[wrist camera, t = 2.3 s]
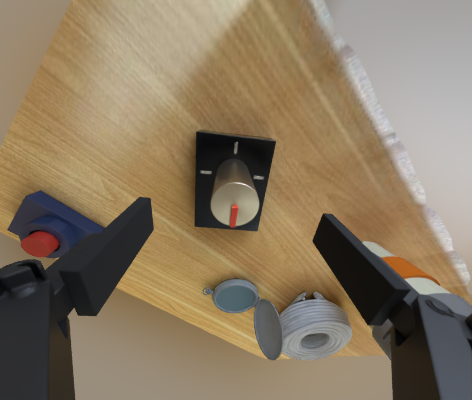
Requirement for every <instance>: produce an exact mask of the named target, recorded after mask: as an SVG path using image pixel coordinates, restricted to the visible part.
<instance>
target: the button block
mask: <svg viewBox="0 0 472 400" xmlns="http://www.w3.org/2000/svg"><path fill="white" fill-rule="evenodd" d="M104 229H105V228H103V227H102V226H100V225H98V224H97V223H95V222H93V221H92V220H90V219H88V218H87V217H85V216H83V215H81V214H80V213H78V212H76V211H75V210H73V209H71V208H70V207H68V206H66V205H64V204H63V203H61V202H59V201H58V200H56V199H54V198H53V197H51V196H49V195H48V194H46V193H44V192H42V191H41V190H40V191H38V192H35V193H33V194H30V195H28V196H26V197H25V199H24V200H23V202H22V204H21V206H20V208H19V209H18V211H17V213H16V215H15V217H14V219H13V220H12V222H11V224H10V226H9V228H8V231H10V232H12V233H14V234H16V235H18V236H19V238H20V241H22V240H23V239H24V238H26V237H28V236H29V235H31V234H33V233H34V232H36V231H46V232H48V233H50V234H52V235H54V236H55V237H56V238H57V239H58V241H59V243H60V245H59V247H58V248H57V249H55V250H54V251H53V252H52V253H50V254H49V255H48V256H45V257H48V258H58V257H61V256H63V255H64V254H65V253H66V252H68V250H70V249H71V248H72V247H73V246H75V245H76V244H77V243H78V242H79V241H80V240H82V239H83V238H85V237H86V236H88V235H90V234H92V233H100V232H102V231H103V230H104Z"/></svg>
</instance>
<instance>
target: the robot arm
mask: <svg viewBox="0 0 472 400" xmlns="http://www.w3.org/2000/svg"><path fill="white" fill-rule="evenodd" d="M153 230H154V227H153V217H152V208H151V198H145V197H139V198H138V199H137V200H136V201H135V202H134V203H132V204H131V205H130V206H129V207H128V208H127V209H126V210H125V211H124V212H123V213H121V214H120V215H119V216H118V217H117V218H116V219H115V220H114V221H113V222H112V223H110V224H109V225H108V226H107V227H106V228H105V229H104V230H103V231H102V232H100V233H92V234H90V235H88V236H86V237H85V238H83V239H82V240H80V241H79V242H78V243H77V244H76V245H75V246H73V247H72V248H71V249H70V250H68V252H66V253H65V254H64V255H63V256H61V257H60V258H59V259H58V260H57V261H55V262H54V263H53V264H52V265H51V266H49V267H48V268H47V269H46V270H44V267H43V265H42V263H41V261H38V260H35V259H34V260H23V261H18V262H15V263H12V264H9V265H7V266H5V267H3V268H1V269H0V400H75V391H74V377H73V365H72V351H71V338H70V324H69V319H68V317H67V316H68V314H69V313H70V312H71V311H72V309H73V308H75V310H76V312H77V314H78V315H79V316H97V314H98V313H99V311H100V310H101V308H102V307H103V305H104V304H105V302H106V301H107V299H108V298H109V296H110V294H111V293H112V292H113V290H114V289H115V287H116V286H117V284H118V283H119V281H120V280H121V278H122V276H123V275H124V273H125V272H126V270H127V269H128V267H129V266H130V264H131V263H132V261H133V260H134V258H135V257H136V255H137V254H138V252H139V251H140V249H141V248H142V246H143V245H144V243H145V242H146V240H147V239H148V237H149V236H150V234H151V233H152V231H153ZM313 243H314V244H315V246H316V248H317V249H318V251H319V252H320V254H321V255H322V257H323V258H324V260H325V261H326V263H327V264H328V266H329V267H330V269H331V270H332V272H333V273H334V275H335V276H336V278H337V279H338V281H339V282H340V284H341V285H342V287H343V288H344V290H345V291H346V293H347V294H348V296H349V297H350V299H351V300H352V302H353V303H354V305H355V306H356V308H357V310H358V311H359V313H360V314H361V316H362V317H363V319H364V320H365V322H366V323H367V325H371V326H382V325H383V324H384V323H385V321H386V320H387V319H389V320H390V322H391V323H392V324H393V325H392V327H391V328H390V329H389V330H388V331H387V332H386V334H385V335H384V336H383V340H386V339H387V338H388V337H390V342H389V343H390V344H391V364H392V365H391V366H392V389H393V400H472V313H471V314H470V315H469V316H468V317H467V316H464V315H461V314H458V313H455V312H454V311H453V310H451V309H450V308H449V307H448V306H447V305H445V304H444V303H443V302H441V301H439V300H438V299H436V298H434V297H431V296H429V295H425V294H419V293H418V292H417V291H416V290H415V289H414V288H413V287H412V286H411V285H410V284H409V283H408V282H407V281H406V280H404V279H403V278H402V277H401V276H400V275H399V274H398V273H397V272H395V270H394V269H393V268H392V267H391V266H389V265H388V264H387V263H386V262H385V261H384V260H383V259H382V258H381V257H379V256H378V255H376V254H375V253H373V252H371V251H370V250H369V249H368V248H367V247H366V246H365V245H364V244H363V243H362V242H361V241H360V240H359V239H358V238H357V237H356V236H355V235H354V234H352V233H351V232H350V231H349V230H348V229H347V228H346V227H345V226H344V225H343V224H342V223H341V222H340V221H339V220H338V219H337V218H336V217H335V216H334V215H333V214H324V213H323V215H322V217H321V220H320V223H319V225H318V228H317V230H316V233H315V236H314V238H313Z"/></svg>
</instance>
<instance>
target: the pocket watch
mask: <svg viewBox="0 0 472 400" xmlns="http://www.w3.org/2000/svg"><path fill="white" fill-rule="evenodd" d="M206 288H209V287H206ZM206 288H204V289H203V294H204V290H205V289H206ZM206 293H207V294H204V295H209V294H211V293H212V299H213V302H214V304H215V305H216V307H217V308H218V309H220V310H222V311H224V312H228V313H241V312H245V311H247V310H249V309H251V308H252V307H255V306H256V307H255V312H254V328H255V334H256V338H257V341H258V344H259V346H260V348H261V350H262V352H263V353H264V355H265V356H266V357H267V358H268V359H270V360H276V359H277V358H278V357H279V356H280V355H281V353H282V350H283V344H284V333H283V326H282V322H281V319H280V316H279V313H278V311H277V309H276V308H275V306H274V305H273V304H272V303H271V302H270V301H269V300H266V299H261V300H260V297H259V295H258V291H257V289H256V287H255V286H254V285H253V284H252V283H250V282H248V281H246V280H242V279H231V280H227V281H224V282H222V283H220V284H219V285H218V286H217V287H216V288H215V289H214V291H211V289H210V288H209V289H206Z"/></svg>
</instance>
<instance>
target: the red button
mask: <svg viewBox="0 0 472 400" xmlns="http://www.w3.org/2000/svg"><path fill="white" fill-rule="evenodd" d="M59 245H60V243H59V241H58V239H57V238H56V237H55V236H54V235H52V234H50V233H48V232H46V231H36V232H34V233H33V234H31V235H29V236H28V237H26V238H24V239H23V240H22V241H21V246H22V248H23V249H24V250H25V251H26V252H27V253H28V254H30V255H32V256H36V257H45V256H48V255H49V254H50V253H52V252H53V251H54V250H55V249H57V248H58V247H59Z"/></svg>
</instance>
